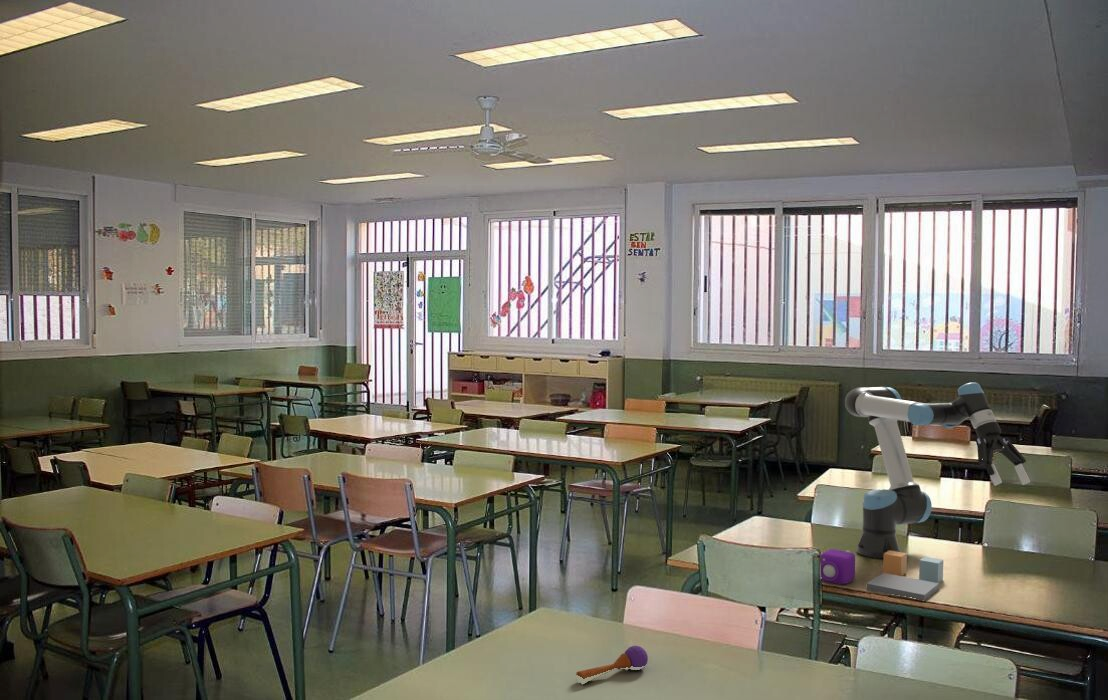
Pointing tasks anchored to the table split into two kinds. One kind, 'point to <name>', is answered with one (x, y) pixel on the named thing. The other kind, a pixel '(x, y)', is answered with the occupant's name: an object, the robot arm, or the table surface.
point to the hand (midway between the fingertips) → (1012, 483)
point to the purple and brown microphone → (620, 662)
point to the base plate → (903, 586)
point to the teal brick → (931, 569)
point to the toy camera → (838, 566)
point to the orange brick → (895, 563)
